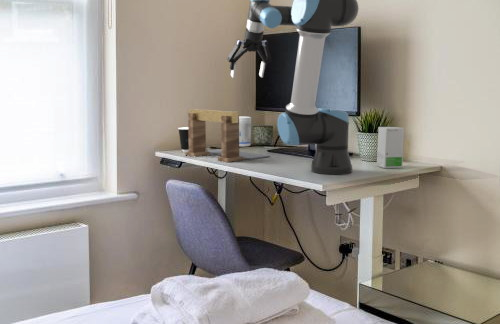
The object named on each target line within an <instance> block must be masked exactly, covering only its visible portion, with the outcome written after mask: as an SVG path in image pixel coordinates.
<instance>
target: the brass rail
mask: <svg viewBox="0 0 500 324" xmlns="http://www.w3.org/2000/svg"><path fill="white" fill-rule="evenodd" d="M188 113H195V120H202V121H205V122H214V123H221V116H223V115H225V116H229V123H238V115H239V111H233V110H232V111H231V110H229V111H228V110H214V109H203V108H202V109H201V108H199V109H198V108H191V109H190V108H189V112H188Z"/></svg>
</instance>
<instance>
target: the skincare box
mask: <svg viewBox="0 0 500 324" xmlns="http://www.w3.org/2000/svg"><path fill="white" fill-rule="evenodd" d="M377 128H378V129H377V132H378V133H377V149H376V150H377V152H376V153H377V154H376V166H377V167H379V168H381V169H382V168H383V169H402V168H403V166H404V165H403V164H404V162H403V161H404V147H405V146H404V142H405V127H397V126H378V127H377Z"/></svg>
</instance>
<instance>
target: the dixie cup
mask: <svg viewBox="0 0 500 324" xmlns="http://www.w3.org/2000/svg"><path fill="white" fill-rule="evenodd" d="M177 129H178V136H179V142H180V149H181V152H183V153H185V152H189V135H188V126H185V127H177Z"/></svg>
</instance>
